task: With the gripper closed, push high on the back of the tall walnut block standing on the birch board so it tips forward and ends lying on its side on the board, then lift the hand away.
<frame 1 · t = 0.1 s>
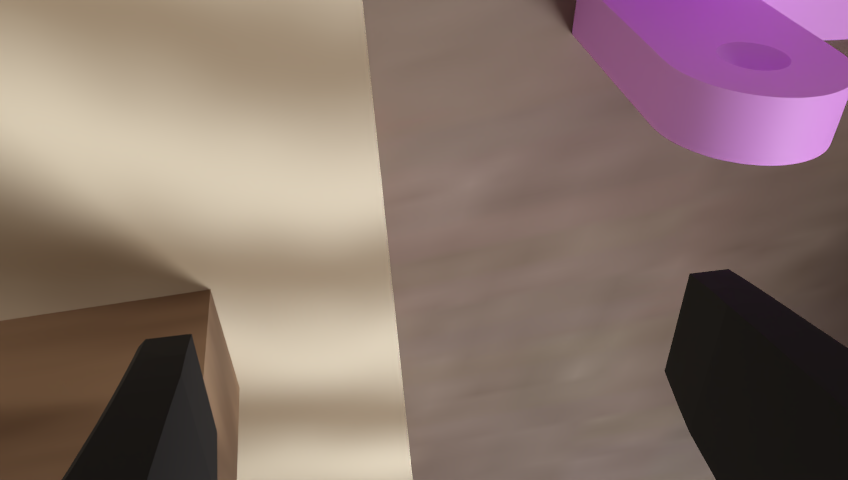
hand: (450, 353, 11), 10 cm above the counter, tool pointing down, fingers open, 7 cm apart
walnut block: (120, 357, 22), point 1 cm above the counter, touching birch board
birch board: (93, 254, 21), on the counter
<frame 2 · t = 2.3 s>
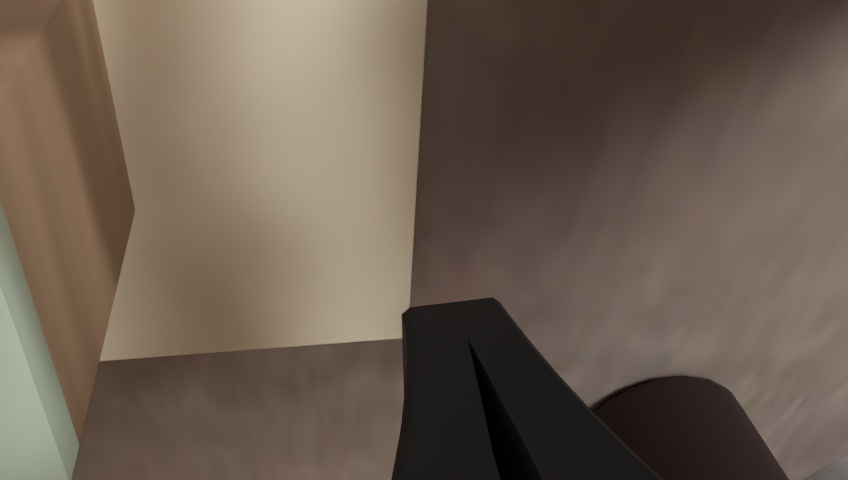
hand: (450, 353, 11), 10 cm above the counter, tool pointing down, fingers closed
walnut block: (16, 100, 17), point 1 cm above the counter, touching birch board
bottle: (649, 428, 30), on the counter
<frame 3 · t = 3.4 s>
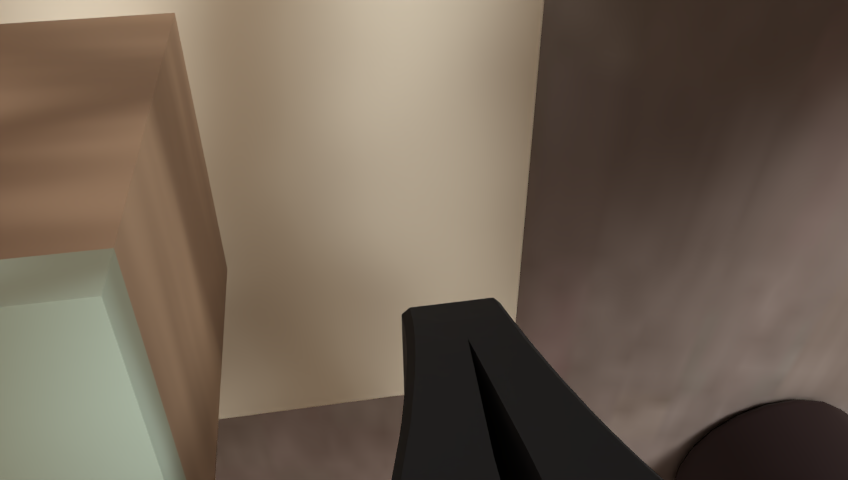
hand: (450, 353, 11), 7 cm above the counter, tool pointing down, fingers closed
walnut block: (102, 164, 15), point 1 cm above the counter, touching birch board
bottle: (756, 453, 28), on the counter
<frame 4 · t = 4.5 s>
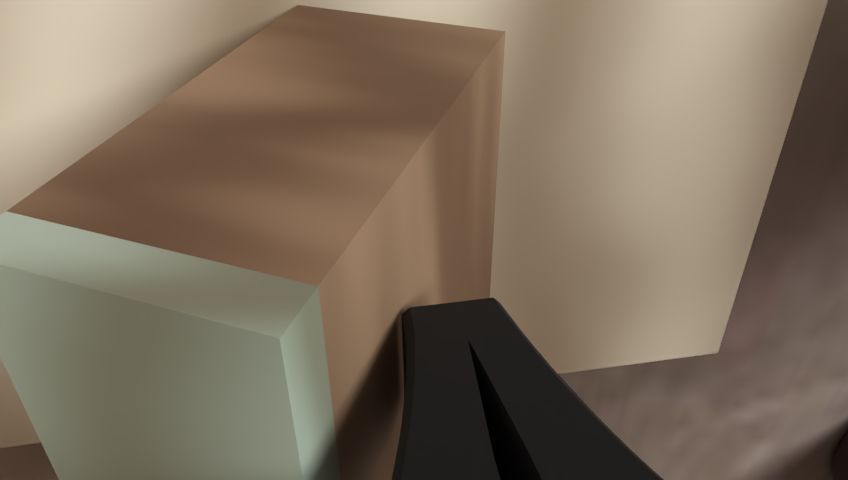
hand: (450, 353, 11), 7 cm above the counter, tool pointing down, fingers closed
walnut block: (401, 162, 15), point 2 cm above the counter, tilted 30°, touching birch board
birch board: (264, 127, 17), on the counter
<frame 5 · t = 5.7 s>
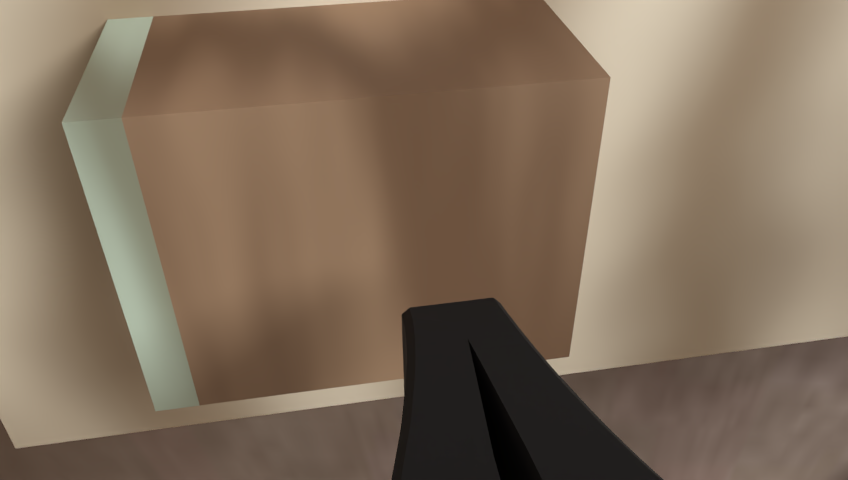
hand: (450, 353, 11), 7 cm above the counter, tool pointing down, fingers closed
walnut block: (552, 176, 15), point 3 cm above the counter, tilted 90°, touching birch board
birch board: (470, 111, 17), on the counter
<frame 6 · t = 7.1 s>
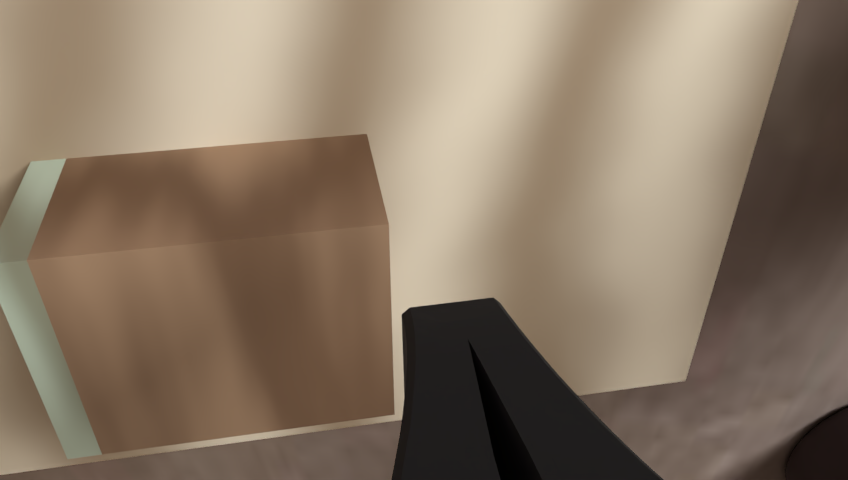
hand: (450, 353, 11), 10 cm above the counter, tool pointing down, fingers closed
walnut block: (380, 275, 19), point 3 cm above the counter, tilted 90°, touching birch board
birch board: (332, 213, 22), on the counter
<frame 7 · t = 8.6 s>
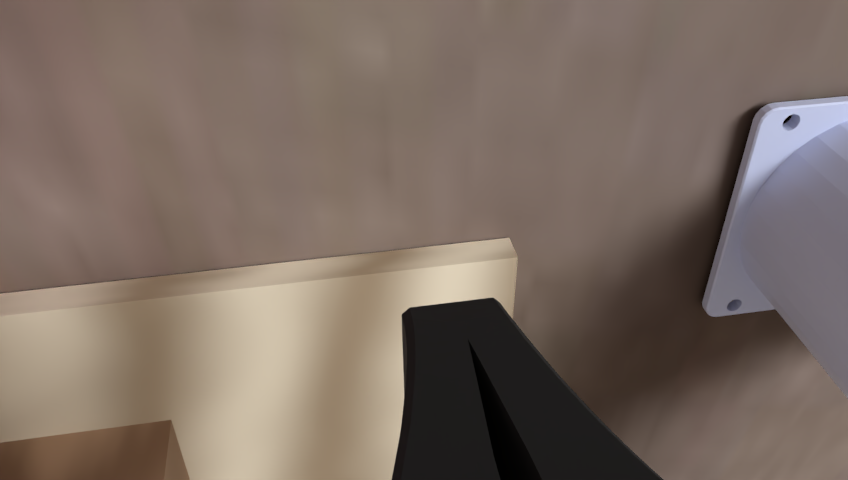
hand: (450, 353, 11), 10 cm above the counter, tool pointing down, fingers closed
birch board: (162, 458, 27), on the counter
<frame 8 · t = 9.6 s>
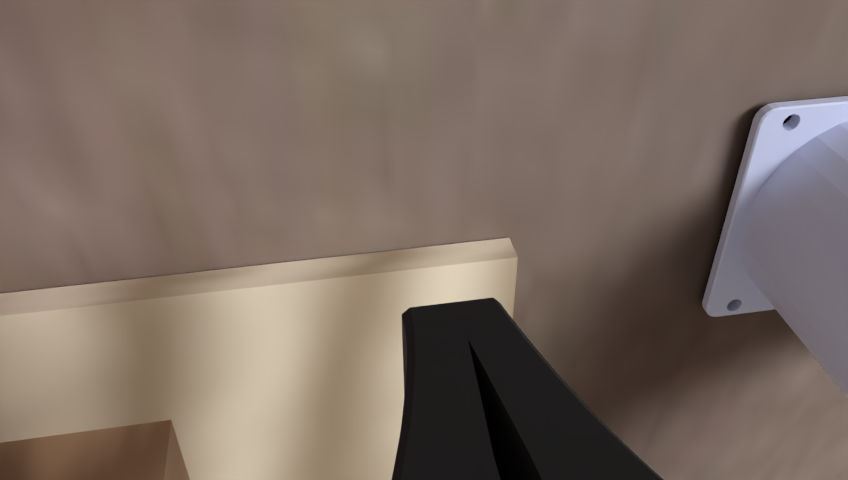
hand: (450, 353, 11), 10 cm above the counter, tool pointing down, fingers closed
birch board: (162, 458, 27), on the counter
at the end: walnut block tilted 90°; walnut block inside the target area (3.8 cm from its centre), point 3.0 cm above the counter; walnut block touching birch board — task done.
